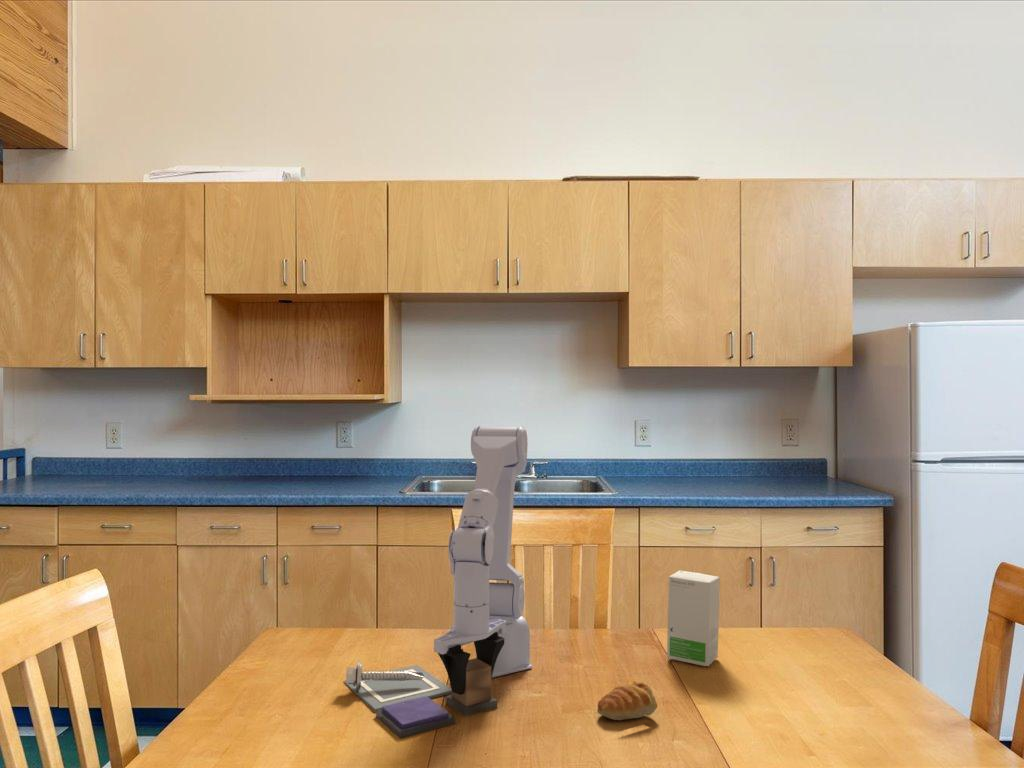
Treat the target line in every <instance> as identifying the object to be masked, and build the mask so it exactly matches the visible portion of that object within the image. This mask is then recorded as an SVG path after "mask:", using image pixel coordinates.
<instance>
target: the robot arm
mask: <svg viewBox="0 0 1024 768" xmlns="http://www.w3.org/2000/svg"><path fill="white" fill-rule="evenodd" d="M528 444H529V443H528V435H527V430H526V429H525V428H524V426H513V427H512V426H480V425H476V426H475V427H474V429H473V430H472V432H471V436H470V451H471V455H472V456H473V459H474V462H475V464H476V473H475V479H474V480H475V481H474V487H473V488H474V489H473V490H471V491H469V492H468V493H467V494H466V496H465V499H464V502H463V506H462V509H461V513H460V518H459V521H458V525H457V527H456V529H455V530H454V529H453V530H451V532H450V534H449V538H448V539H449V540H448V547H447V548H448V552H447V553H448V559H449V562H450V574H451V575H453V625H451V626H450V630H449V631H447V632H446V633H445V634H442V635H441V636H439V637H437V638H435V639H433V652H434V653H437V654H438V657H439V658H440V659H441V661H442V664H443V665H444V668H445V670H446V672H447V673H446V674H447V676H448V677H447V678H448V679H449V684H450V688H451V689H452V692H454V693H456V694H459V695H462V694H464V690H465V675H466V668H467V664H468V660H470V657H471V655H472V654H471V653H469V652H467V651H464V649H463V648H462V647H463V646H465V645H469V644H471V643H473V644H474V645H473V646H474V649H475V658H477V659H479V660H481V661H483V662H484V663H486V664H488V665H490V666H491V679H492V678H496V677H500V676H505V675H508V674H513V673H517V672H520V671H525V670H529V669H533V665H532V664H531V663H530V662H531V661H530V660H531V659H530V658H531V647H530V646H531V637H530V636H531V634H530V627H529V624H528V621H527V619H526V618H525V617H524V616H523V613H524V609H525V601H526V600H525V598H526V595H525V581H524V577H523V575H522V574H521V573H520V572H519V571H518V570H517V569H516V568H514V566H512V565H511V549H512V535H513V534H512V533H513V515H514V499H515V487H516V486H515V485H516V483H517V482H516V481H517V477H518V476H520V475H521V474H523V473H525V472H526V467H527V461H528V447H529V446H528ZM491 581H492V582H491ZM493 581H504V582H493ZM505 581H507V582H505ZM509 582H511V583H509Z"/></svg>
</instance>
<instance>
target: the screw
mask: <svg viewBox="0 0 1024 768" xmlns="http://www.w3.org/2000/svg"><path fill="white" fill-rule="evenodd" d="M362 669H363V662H361V660H358V661H357V665H354V667H347V668H346V676H345V678H346V679H345V680H346V684H353V686H355V685H356V692H358V690H360V687H361V681H362V682H363V681H369V682H370V681H376V682H377V681H380V682H381V681H387V682H388V681H394V682H395V681H401V682H402V681H409V680H422V679H423V678H424V674H423V673H422V672H408V671H407V672H406V671H401V670H400V671H394V670H395V669H393V671H392V670H388V671H387V670H386V669H385V670H380V669H378V671H377V669H376V670H371V671H370V670H367V671H366V670H362ZM346 684H345V685H346Z"/></svg>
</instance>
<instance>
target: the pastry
mask: <svg viewBox="0 0 1024 768" xmlns="http://www.w3.org/2000/svg"><path fill="white" fill-rule="evenodd" d="M653 693H654V692H653V691H652V688H651V687H650V686H649V685H648V684H647V683H645V682H643V681H638V682H637V681H633V682H632V683H630V684H628V683H627V684H623V685H618V686H615V687H614V688H613V689H612V690H611V691H609V692H608V693H606V694H605V695H604V696H603V697H601V698H600V700H598V702H597V710H596V711H597V714H599V715H601V716H603V717H606V718H608V719H611V720H614V721H622V720H632V719H638V718H643V717H644V716H650V715H652V714H653V713H655V711H656V710H657V708H658V703H657V700H656V696H655V695H654V694H653Z"/></svg>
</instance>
